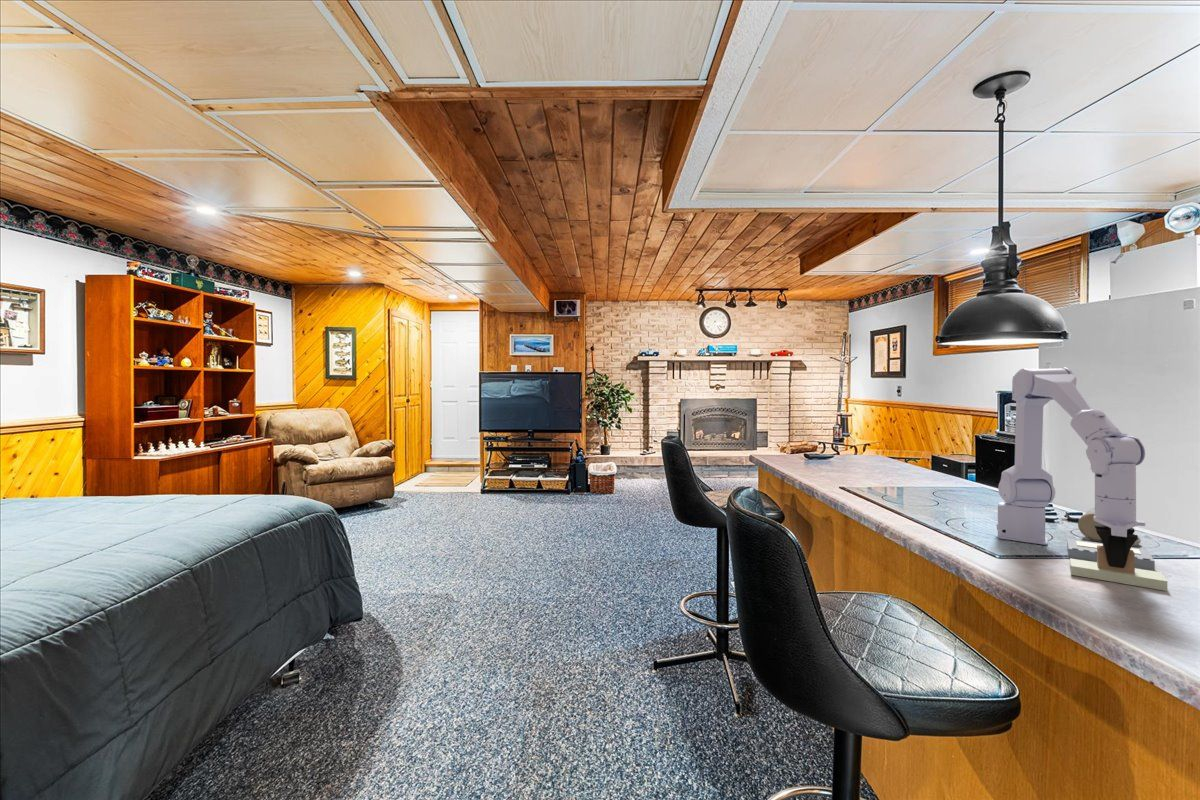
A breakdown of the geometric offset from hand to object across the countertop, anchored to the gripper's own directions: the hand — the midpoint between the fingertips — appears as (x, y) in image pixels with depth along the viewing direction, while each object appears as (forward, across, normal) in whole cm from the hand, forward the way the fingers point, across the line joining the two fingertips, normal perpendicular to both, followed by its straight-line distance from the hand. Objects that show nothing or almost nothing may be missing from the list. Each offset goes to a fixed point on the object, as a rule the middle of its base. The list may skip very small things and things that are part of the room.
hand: (1115, 564), depth 98 cm
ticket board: (+3, +16, 0) cm, 17 cm away
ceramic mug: (+3, +35, -1) cm, 35 cm away
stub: (+3, 0, 0) cm, 3 cm away
